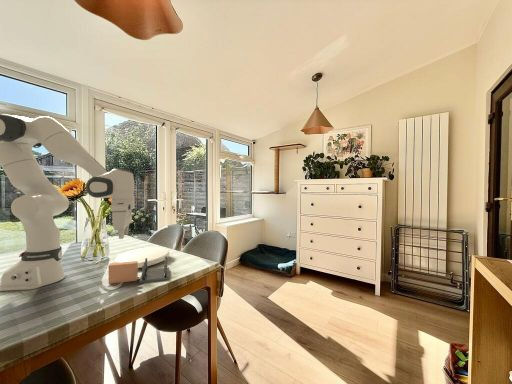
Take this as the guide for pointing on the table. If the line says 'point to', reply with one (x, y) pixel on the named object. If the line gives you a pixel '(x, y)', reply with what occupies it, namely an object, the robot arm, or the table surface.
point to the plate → (144, 256)
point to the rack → (154, 273)
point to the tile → (123, 272)
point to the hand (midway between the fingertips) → (123, 236)
